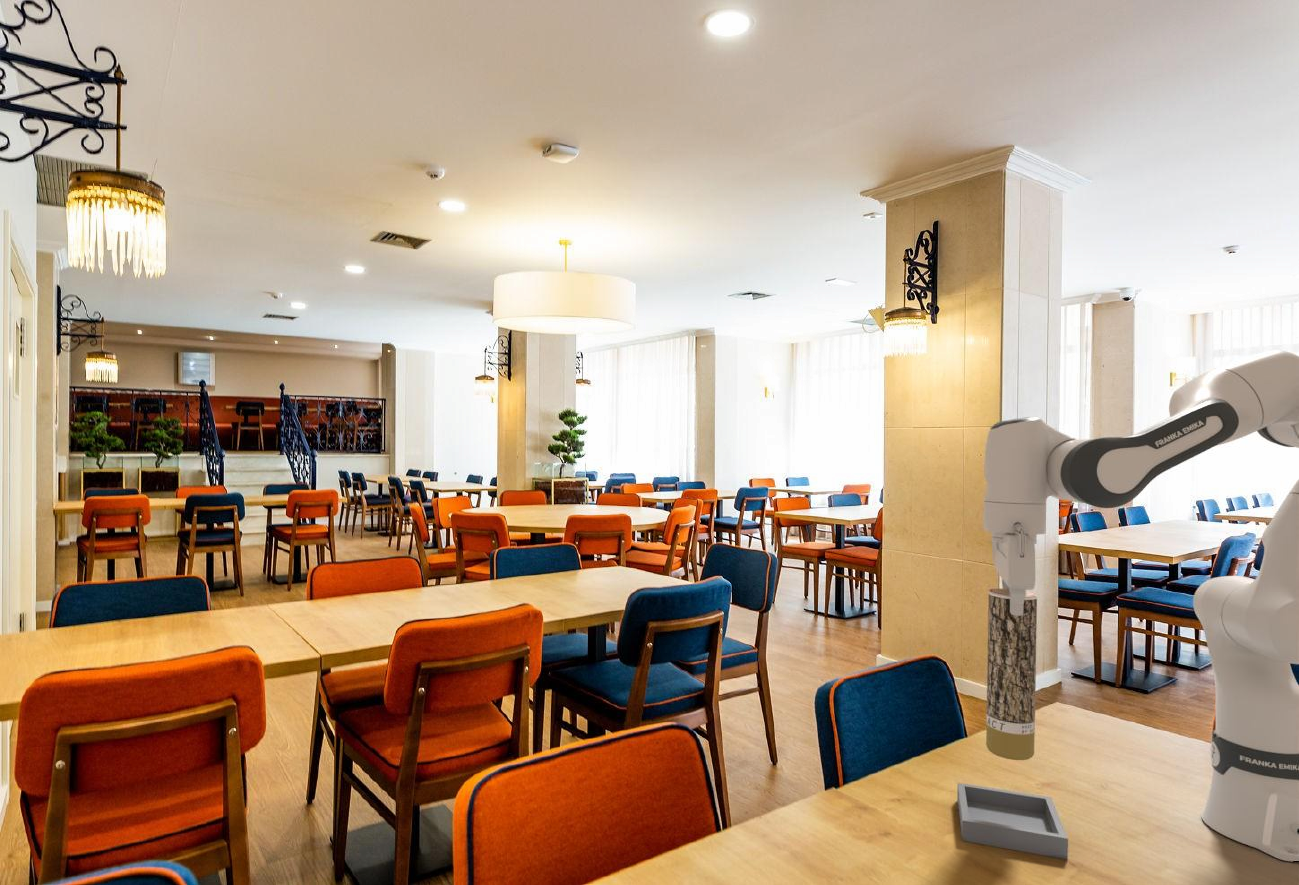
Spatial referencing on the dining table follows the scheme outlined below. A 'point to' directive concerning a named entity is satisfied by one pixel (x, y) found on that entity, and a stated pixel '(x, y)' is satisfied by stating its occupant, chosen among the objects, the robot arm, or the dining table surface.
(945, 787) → the dining table surface
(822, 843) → the dining table surface
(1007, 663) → the paper tube
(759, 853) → the dining table surface
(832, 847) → the dining table surface
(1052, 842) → the tray
